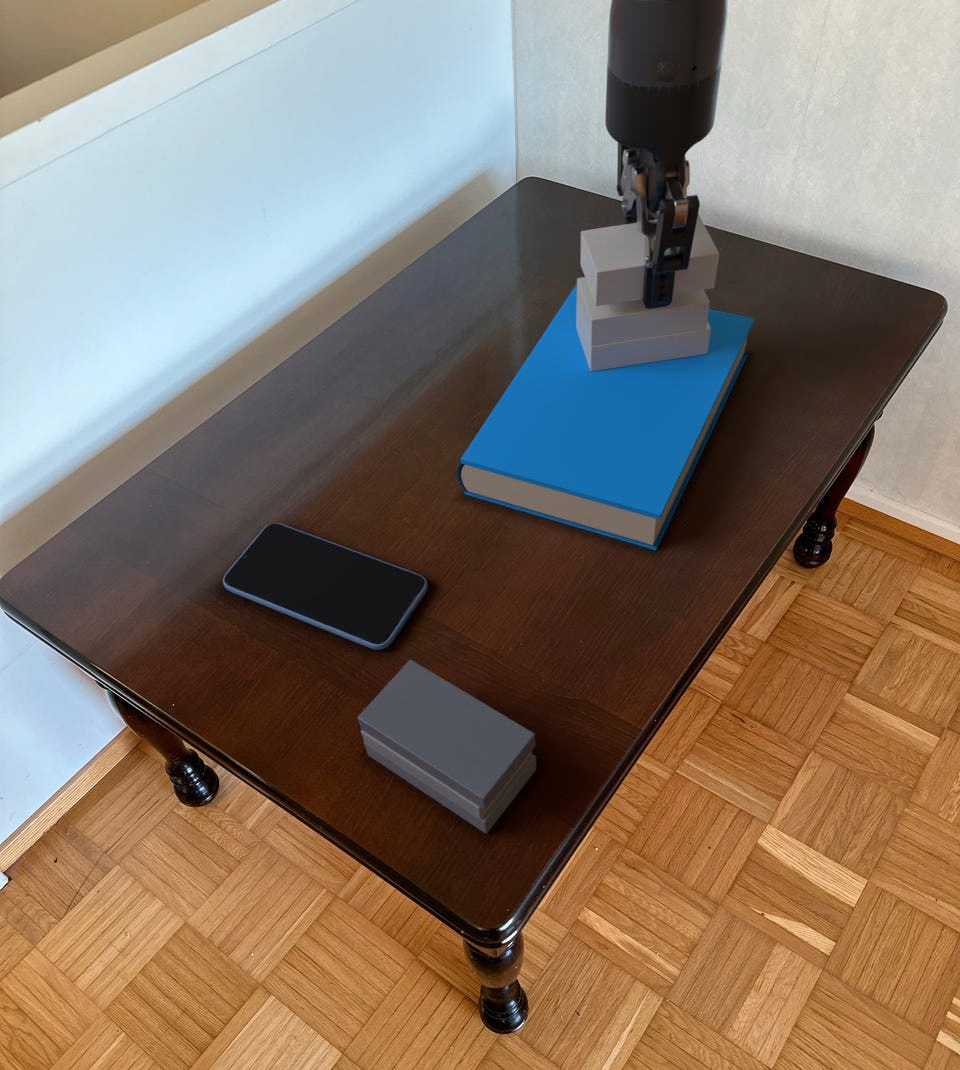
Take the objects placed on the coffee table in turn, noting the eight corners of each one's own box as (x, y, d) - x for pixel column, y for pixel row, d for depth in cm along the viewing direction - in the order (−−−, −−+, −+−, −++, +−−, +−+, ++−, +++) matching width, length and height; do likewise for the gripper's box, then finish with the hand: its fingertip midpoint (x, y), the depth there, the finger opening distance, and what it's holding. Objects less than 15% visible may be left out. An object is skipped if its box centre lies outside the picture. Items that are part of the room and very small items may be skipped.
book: (755, 316, 81) (664, 512, 68) (747, 358, 85) (659, 552, 72) (570, 279, 86) (453, 455, 73) (569, 319, 90) (458, 494, 77)
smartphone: (383, 649, 67) (215, 582, 72) (385, 655, 68) (219, 589, 73) (432, 575, 71) (270, 516, 75) (433, 582, 71) (272, 523, 76)
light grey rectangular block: (688, 311, 82) (694, 259, 78) (707, 354, 79) (715, 302, 75) (576, 328, 82) (576, 277, 78) (590, 371, 78) (591, 320, 74)
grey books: (538, 769, 62) (536, 732, 58) (487, 835, 59) (482, 800, 55) (419, 696, 66) (409, 656, 62) (367, 755, 63) (354, 717, 59)
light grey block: (693, 247, 77) (698, 213, 75) (714, 288, 74) (719, 253, 71) (580, 264, 77) (580, 230, 74) (595, 306, 73) (596, 272, 71)
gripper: (754, 97, 58) (718, 328, 72) (690, 3, 66) (668, 226, 80) (635, 115, 58) (621, 343, 71) (585, 18, 66) (582, 239, 80)
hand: (646, 280), depth 76 cm, fingers closed on light grey block, 6 cm apart
